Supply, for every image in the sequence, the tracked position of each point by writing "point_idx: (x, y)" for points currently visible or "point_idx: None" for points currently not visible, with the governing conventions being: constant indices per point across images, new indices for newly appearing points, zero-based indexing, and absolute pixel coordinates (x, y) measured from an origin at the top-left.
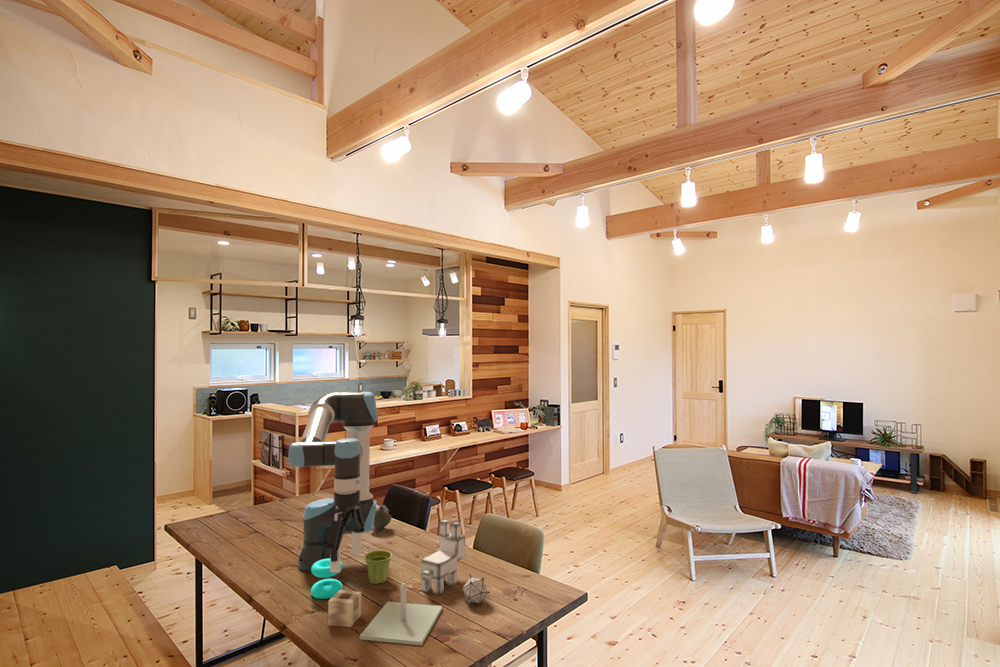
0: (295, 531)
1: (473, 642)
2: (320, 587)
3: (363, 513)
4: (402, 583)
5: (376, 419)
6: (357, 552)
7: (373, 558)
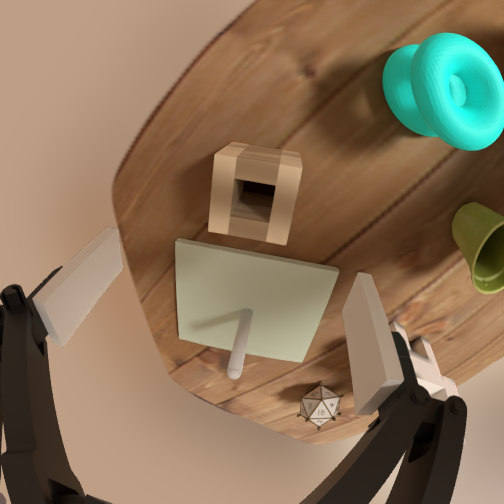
0: None
1: (203, 381)
2: (407, 72)
3: None
4: (231, 375)
5: None
6: (348, 307)
7: None
